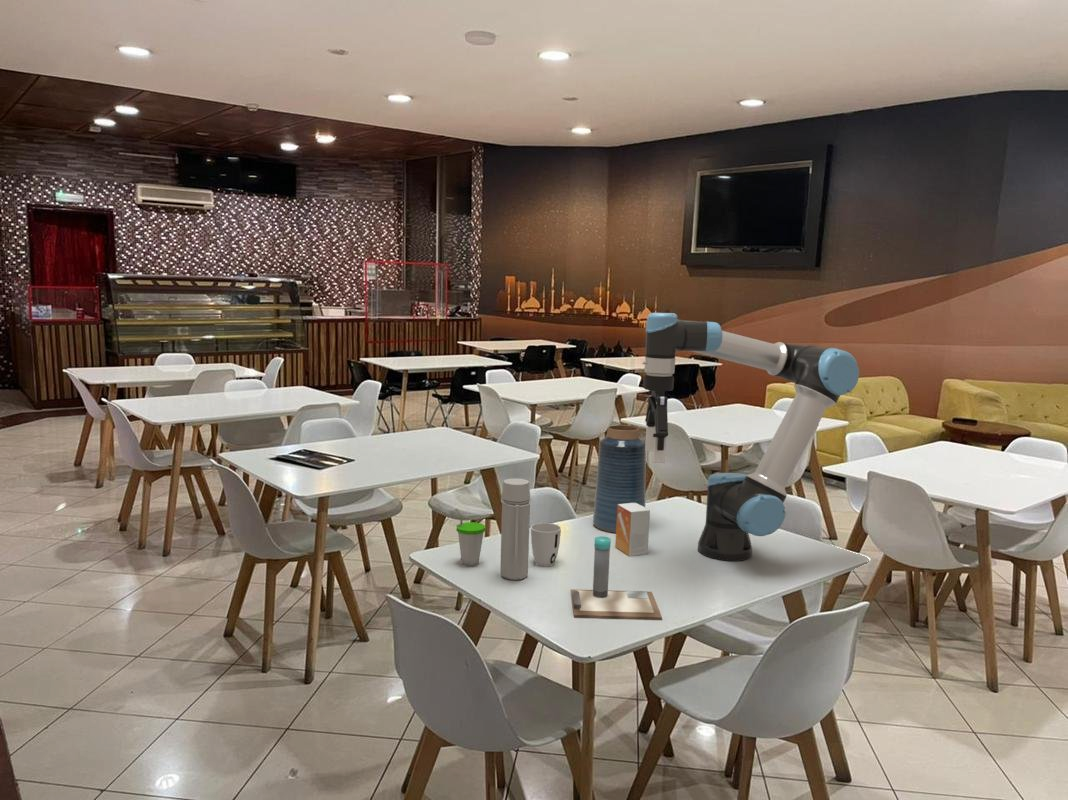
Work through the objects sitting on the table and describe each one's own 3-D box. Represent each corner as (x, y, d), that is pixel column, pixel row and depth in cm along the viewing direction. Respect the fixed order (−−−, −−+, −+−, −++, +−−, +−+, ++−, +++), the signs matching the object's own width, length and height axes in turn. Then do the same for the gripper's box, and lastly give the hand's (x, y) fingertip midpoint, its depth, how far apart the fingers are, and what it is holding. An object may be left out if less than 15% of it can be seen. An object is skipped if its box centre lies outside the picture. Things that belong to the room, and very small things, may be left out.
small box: (614, 547, 224) (616, 503, 222) (633, 545, 226) (636, 502, 225) (628, 556, 217) (631, 511, 215) (648, 554, 219) (650, 509, 217)
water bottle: (498, 570, 203) (500, 477, 199) (528, 570, 203) (531, 478, 200) (499, 584, 194) (502, 487, 190) (531, 584, 194) (534, 487, 191)
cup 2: (556, 569, 205) (558, 533, 203) (526, 566, 206) (528, 530, 205) (561, 559, 213) (563, 524, 211) (533, 556, 214) (534, 521, 213)
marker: (607, 592, 189) (609, 536, 187) (608, 598, 185) (611, 541, 183) (591, 591, 189) (594, 536, 187) (593, 597, 185) (595, 541, 183)
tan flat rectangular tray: (651, 593, 190) (652, 587, 190) (661, 619, 176) (662, 613, 175) (570, 591, 190) (570, 585, 190) (573, 617, 175) (574, 610, 175)
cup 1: (490, 564, 208) (492, 509, 205) (469, 571, 202) (470, 515, 200) (471, 556, 213) (472, 503, 211) (449, 563, 207) (450, 509, 205)
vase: (586, 519, 250) (590, 423, 246) (633, 517, 254) (638, 422, 250) (602, 535, 235) (607, 433, 230) (652, 533, 238) (658, 432, 234)
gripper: (637, 368, 207) (633, 446, 211) (651, 379, 183) (647, 467, 186) (665, 369, 208) (661, 447, 211) (683, 380, 183) (678, 468, 186)
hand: (654, 456), depth 198 cm, fingers open, 13 cm apart
